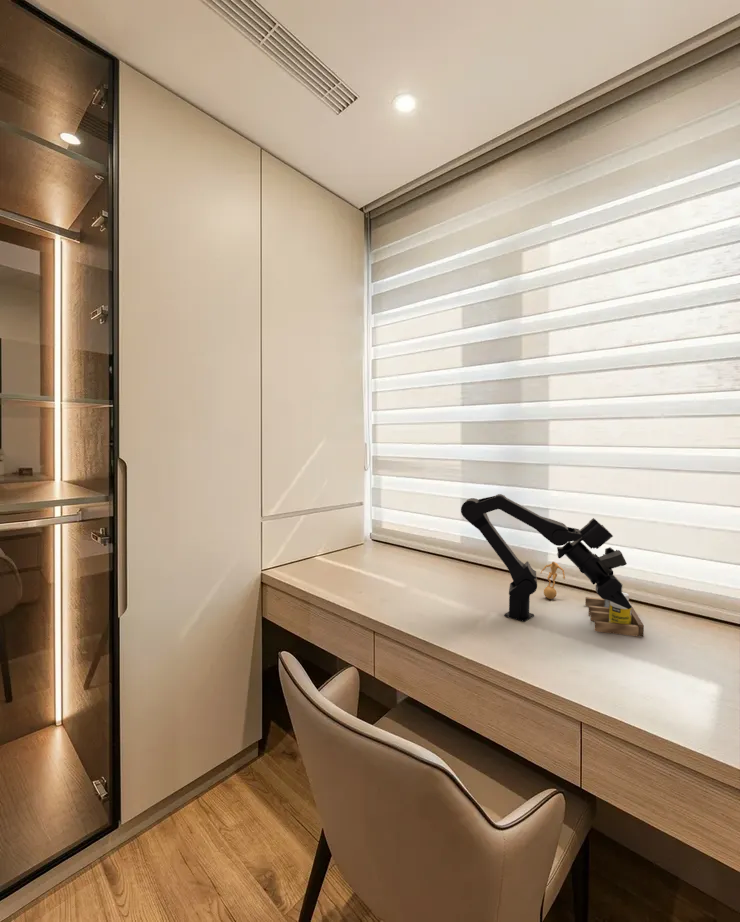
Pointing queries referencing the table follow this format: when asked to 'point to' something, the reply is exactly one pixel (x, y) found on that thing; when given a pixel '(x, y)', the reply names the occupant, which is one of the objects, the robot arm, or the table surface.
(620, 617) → the supplement bottle
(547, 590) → the figurine
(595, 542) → the robot arm
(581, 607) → the table surface
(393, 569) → the table surface
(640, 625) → the wooden rack
